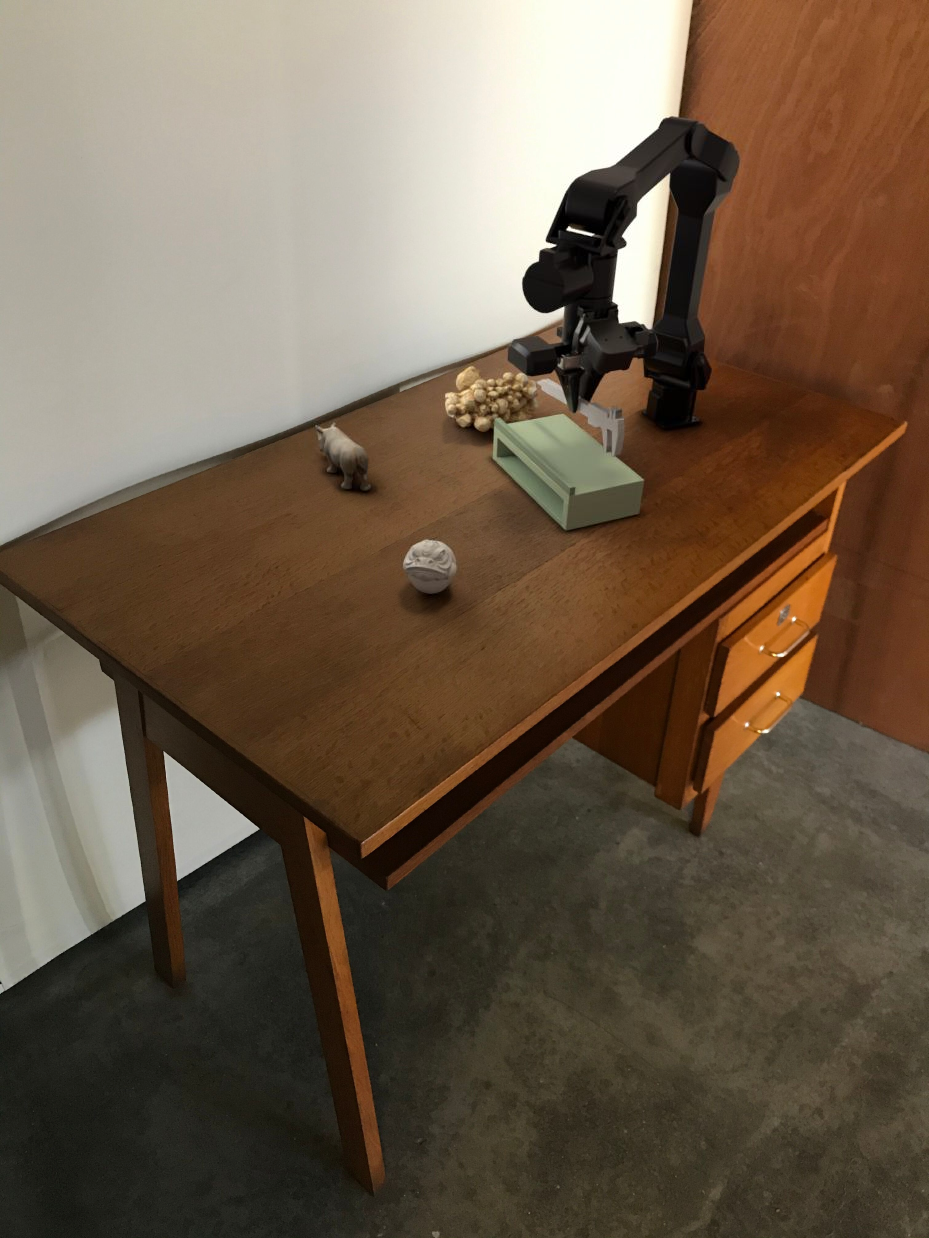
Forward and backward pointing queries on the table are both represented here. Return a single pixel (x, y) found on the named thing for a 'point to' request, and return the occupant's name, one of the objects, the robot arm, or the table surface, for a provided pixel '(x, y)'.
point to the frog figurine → (430, 566)
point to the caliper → (595, 417)
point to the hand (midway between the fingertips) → (577, 411)
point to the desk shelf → (567, 471)
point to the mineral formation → (491, 399)
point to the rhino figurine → (343, 455)
